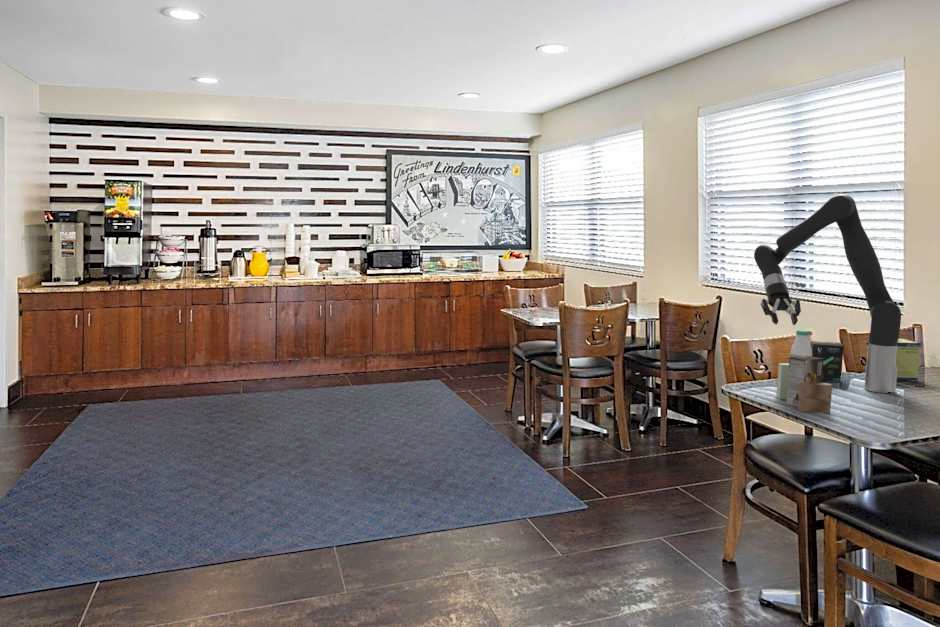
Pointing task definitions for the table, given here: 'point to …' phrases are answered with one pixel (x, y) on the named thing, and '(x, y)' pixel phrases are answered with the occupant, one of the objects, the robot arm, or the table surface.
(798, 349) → the milk bottle
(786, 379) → the bookend
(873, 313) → the robot arm
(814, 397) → the end block
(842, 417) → the table surface
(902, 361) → the protein box
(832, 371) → the tampon box
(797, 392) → the coffee box
